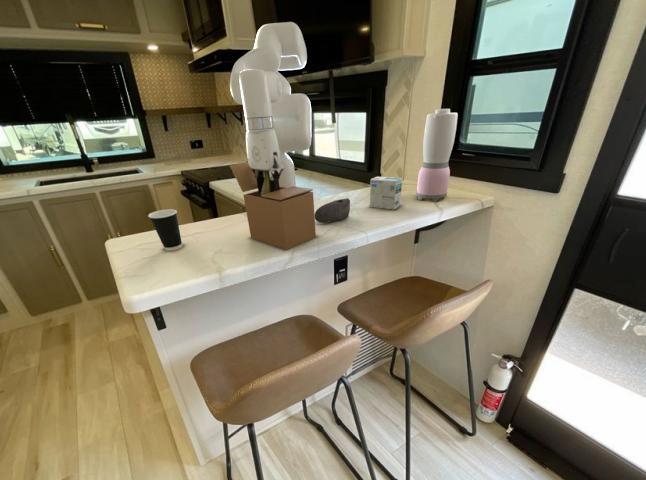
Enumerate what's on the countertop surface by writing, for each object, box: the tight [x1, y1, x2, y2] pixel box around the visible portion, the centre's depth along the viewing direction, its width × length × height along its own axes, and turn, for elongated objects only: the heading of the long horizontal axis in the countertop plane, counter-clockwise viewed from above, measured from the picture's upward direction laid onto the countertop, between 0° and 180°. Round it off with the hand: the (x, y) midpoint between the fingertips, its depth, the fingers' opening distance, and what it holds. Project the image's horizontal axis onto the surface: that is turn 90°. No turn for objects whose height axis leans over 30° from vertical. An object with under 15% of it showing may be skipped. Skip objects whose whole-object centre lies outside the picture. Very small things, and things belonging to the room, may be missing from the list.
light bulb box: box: [369, 176, 403, 210], centre depth 121 cm, size 11×7×11 cm, turn 58°
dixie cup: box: [147, 208, 183, 251], centre depth 95 cm, size 8×8×11 cm
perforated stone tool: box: [314, 197, 351, 224], centre depth 110 cm, size 15×5×7 cm, turn 116°
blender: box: [415, 108, 459, 202], centre depth 124 cm, size 16×12×32 cm
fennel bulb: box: [261, 170, 276, 200], centre depth 93 cm, size 6×5×12 cm
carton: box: [242, 186, 317, 251], centre depth 96 cm, size 17×13×15 cm
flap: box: [229, 161, 265, 193], centre depth 97 cm, size 8×13×1 cm
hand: (269, 191), depth 95 cm, fingers closed on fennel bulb, 5 cm apart
